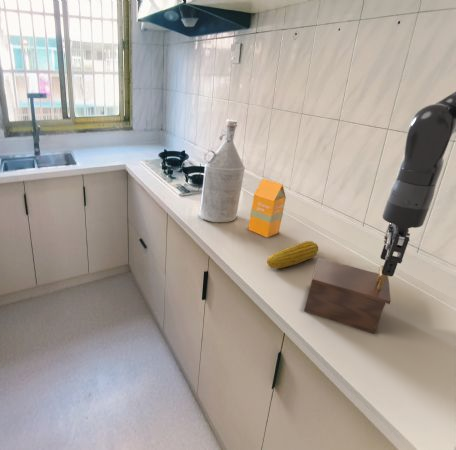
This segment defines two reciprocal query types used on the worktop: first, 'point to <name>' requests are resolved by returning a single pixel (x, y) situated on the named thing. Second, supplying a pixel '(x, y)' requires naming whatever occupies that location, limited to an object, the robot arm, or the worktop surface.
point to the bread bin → (344, 307)
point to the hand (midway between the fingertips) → (385, 266)
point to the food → (293, 255)
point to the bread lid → (353, 280)
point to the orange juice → (267, 208)
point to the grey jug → (222, 180)
